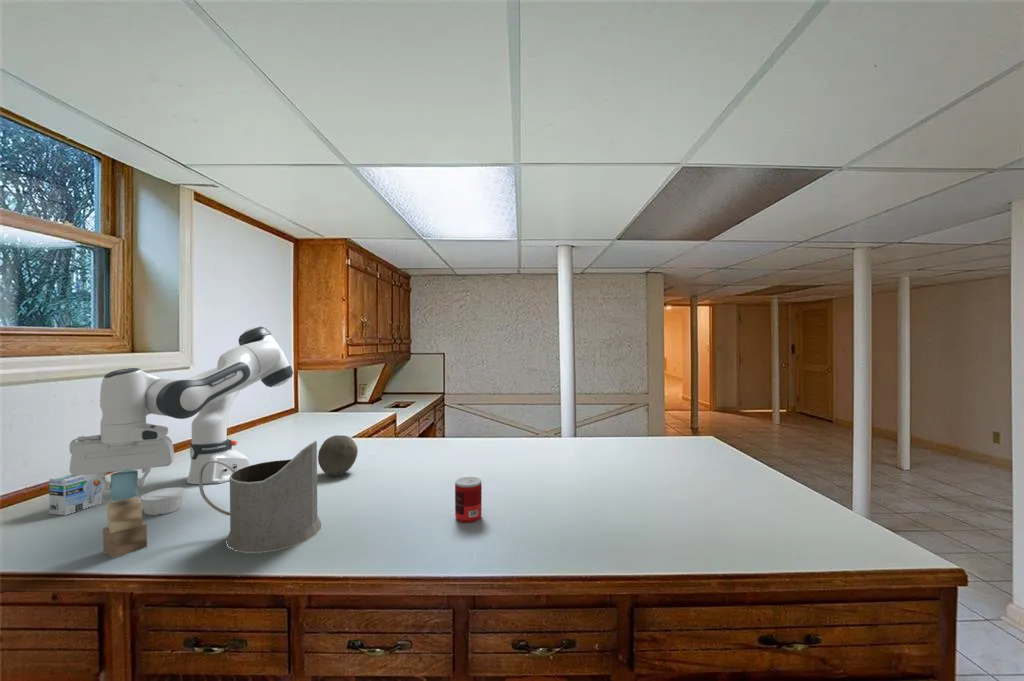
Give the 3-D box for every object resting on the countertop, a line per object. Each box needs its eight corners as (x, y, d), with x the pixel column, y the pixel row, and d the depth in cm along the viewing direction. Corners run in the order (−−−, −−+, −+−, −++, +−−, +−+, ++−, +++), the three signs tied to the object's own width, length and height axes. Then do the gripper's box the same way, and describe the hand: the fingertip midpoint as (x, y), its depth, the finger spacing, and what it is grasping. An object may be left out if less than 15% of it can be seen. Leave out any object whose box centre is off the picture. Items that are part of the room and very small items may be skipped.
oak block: (138, 519, 121) (137, 496, 121) (142, 526, 116) (141, 502, 116) (107, 526, 116) (107, 502, 116) (110, 533, 112) (110, 509, 112)
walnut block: (134, 541, 121) (134, 519, 121) (146, 547, 118) (146, 524, 118) (103, 552, 115) (103, 528, 115) (115, 558, 112) (115, 533, 112)
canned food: (485, 514, 139) (485, 478, 139) (474, 524, 131) (474, 486, 131) (462, 511, 141) (462, 475, 141) (450, 521, 134) (450, 483, 134)
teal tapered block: (130, 492, 120) (130, 469, 120) (142, 494, 118) (142, 471, 118) (106, 498, 115) (106, 474, 115) (118, 501, 113) (118, 477, 113)
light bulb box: (65, 516, 138) (65, 480, 138) (48, 514, 139) (47, 479, 139) (103, 503, 148) (103, 470, 148) (87, 501, 150) (86, 468, 150)
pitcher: (301, 552, 115) (300, 452, 115) (170, 555, 114) (169, 454, 113) (333, 515, 138) (332, 432, 138) (224, 517, 137) (224, 433, 136)
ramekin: (136, 519, 135) (136, 502, 135) (145, 507, 145) (145, 490, 145) (182, 513, 141) (182, 495, 140) (188, 501, 150) (188, 485, 150)
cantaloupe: (349, 480, 172) (349, 440, 171) (311, 480, 172) (311, 440, 171) (362, 469, 186) (362, 432, 185) (327, 469, 186) (327, 432, 186)
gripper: (63, 440, 109) (64, 498, 109) (170, 431, 118) (170, 485, 118) (74, 434, 114) (75, 490, 115) (175, 427, 123) (175, 478, 124)
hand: (124, 487), depth 116 cm, fingers closed on teal tapered block, 5 cm apart
